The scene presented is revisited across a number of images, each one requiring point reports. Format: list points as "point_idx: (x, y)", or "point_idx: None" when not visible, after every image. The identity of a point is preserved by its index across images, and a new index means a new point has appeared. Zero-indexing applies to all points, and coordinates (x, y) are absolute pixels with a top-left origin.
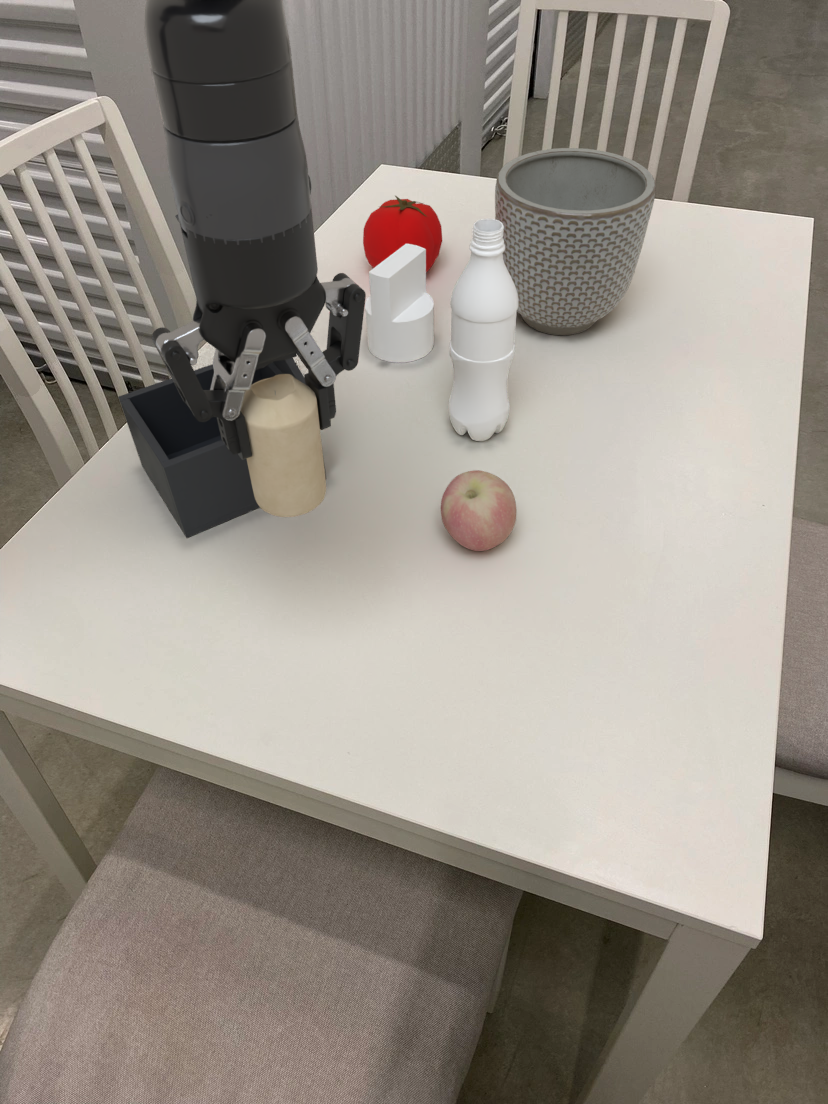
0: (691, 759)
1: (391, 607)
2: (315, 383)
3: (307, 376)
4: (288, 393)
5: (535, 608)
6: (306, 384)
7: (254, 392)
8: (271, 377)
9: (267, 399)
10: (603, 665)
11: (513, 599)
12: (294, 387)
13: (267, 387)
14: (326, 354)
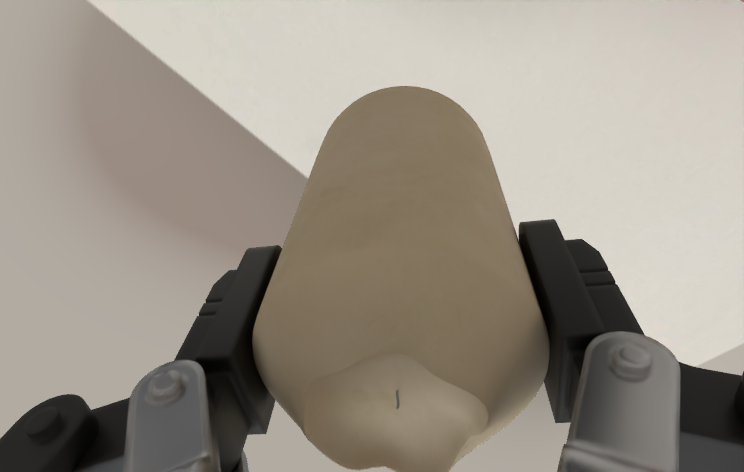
0: (683, 323)
1: (539, 16)
2: (569, 393)
3: (566, 349)
4: (444, 408)
5: (716, 109)
6: (550, 311)
7: (317, 400)
8: (417, 324)
9: (349, 468)
10: (709, 216)
11: (704, 81)
12: (471, 437)
13: (381, 356)
14: (701, 458)
